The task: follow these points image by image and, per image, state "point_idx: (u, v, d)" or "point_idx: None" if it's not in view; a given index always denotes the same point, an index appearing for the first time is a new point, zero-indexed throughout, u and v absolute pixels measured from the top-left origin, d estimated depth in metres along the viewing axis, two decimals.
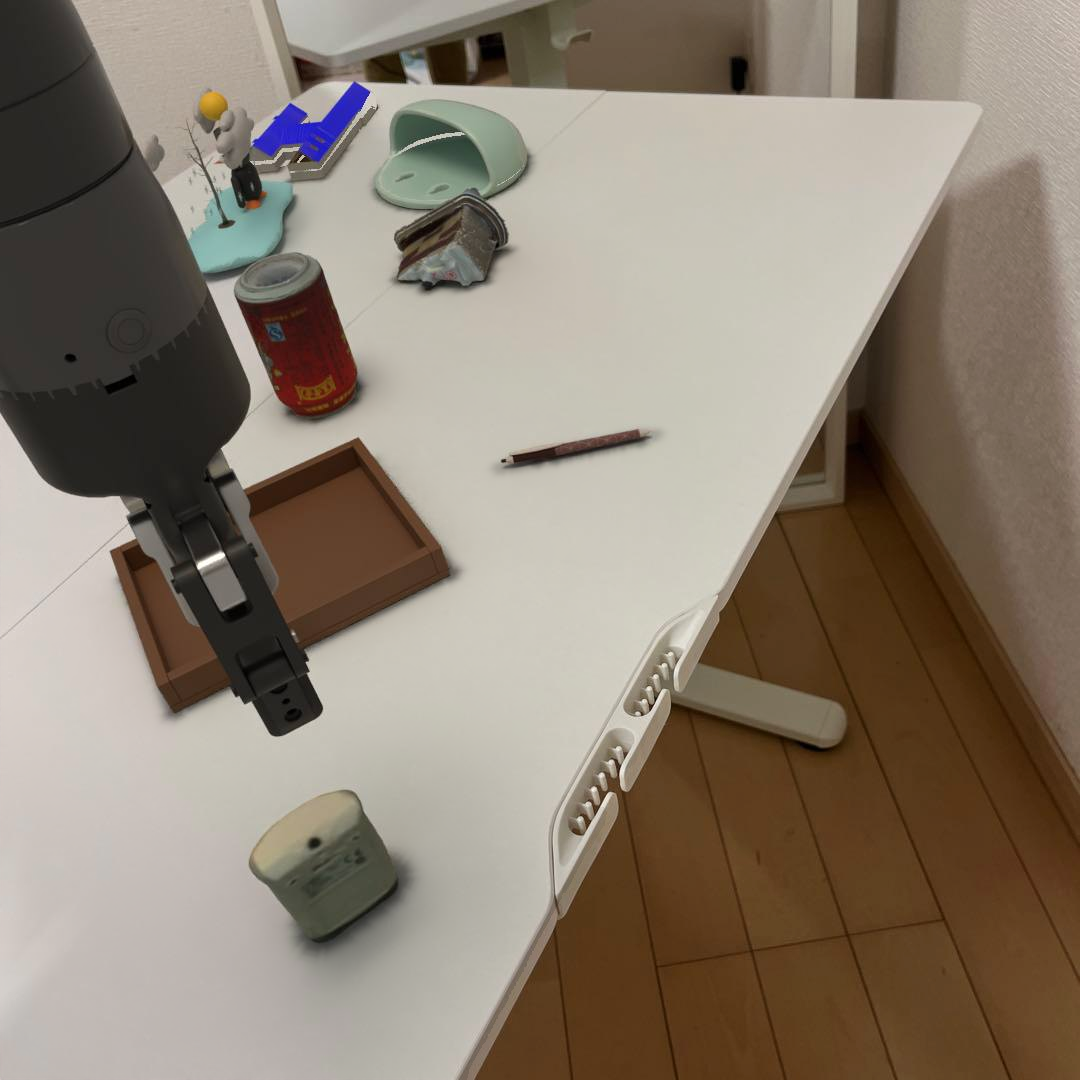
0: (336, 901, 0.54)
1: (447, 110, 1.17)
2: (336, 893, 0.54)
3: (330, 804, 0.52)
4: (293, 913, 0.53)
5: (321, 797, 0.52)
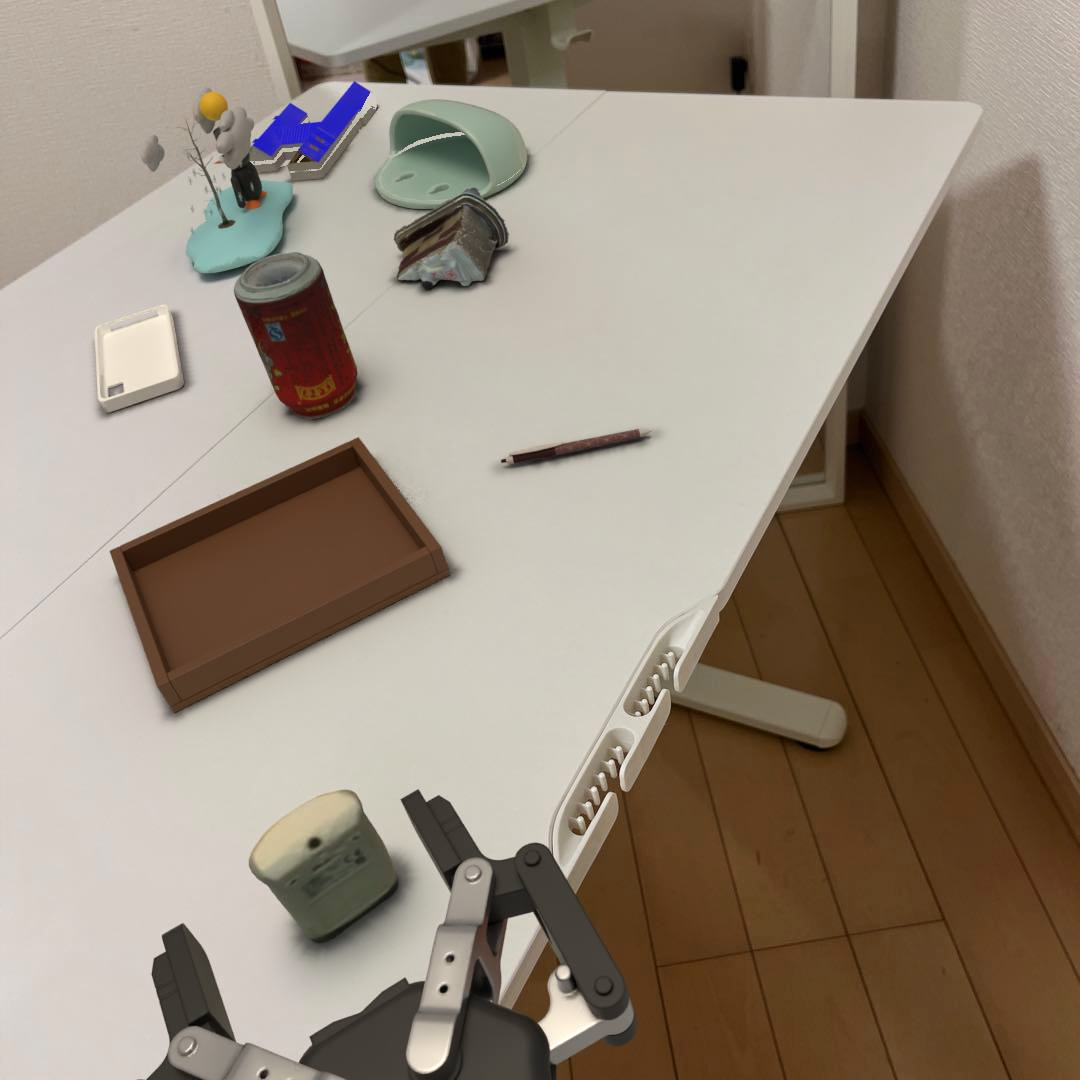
0: (336, 901, 0.54)
1: (447, 110, 1.17)
2: (336, 893, 0.54)
3: (330, 804, 0.52)
4: (293, 913, 0.53)
5: (321, 797, 0.52)
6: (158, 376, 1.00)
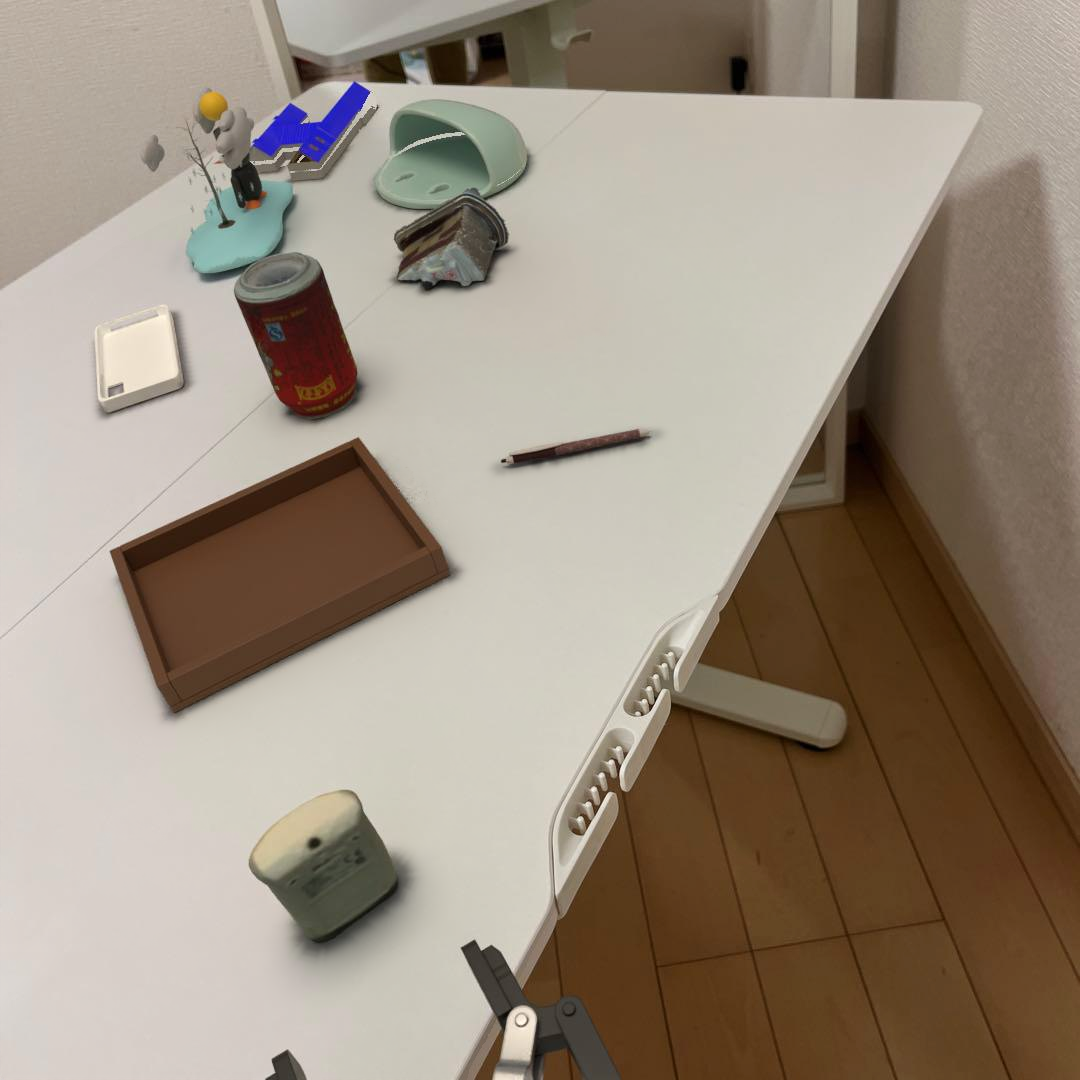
0: (336, 901, 0.54)
1: (447, 110, 1.17)
2: (336, 893, 0.54)
3: (330, 804, 0.52)
4: (293, 913, 0.53)
5: (321, 797, 0.52)
6: (158, 376, 1.00)
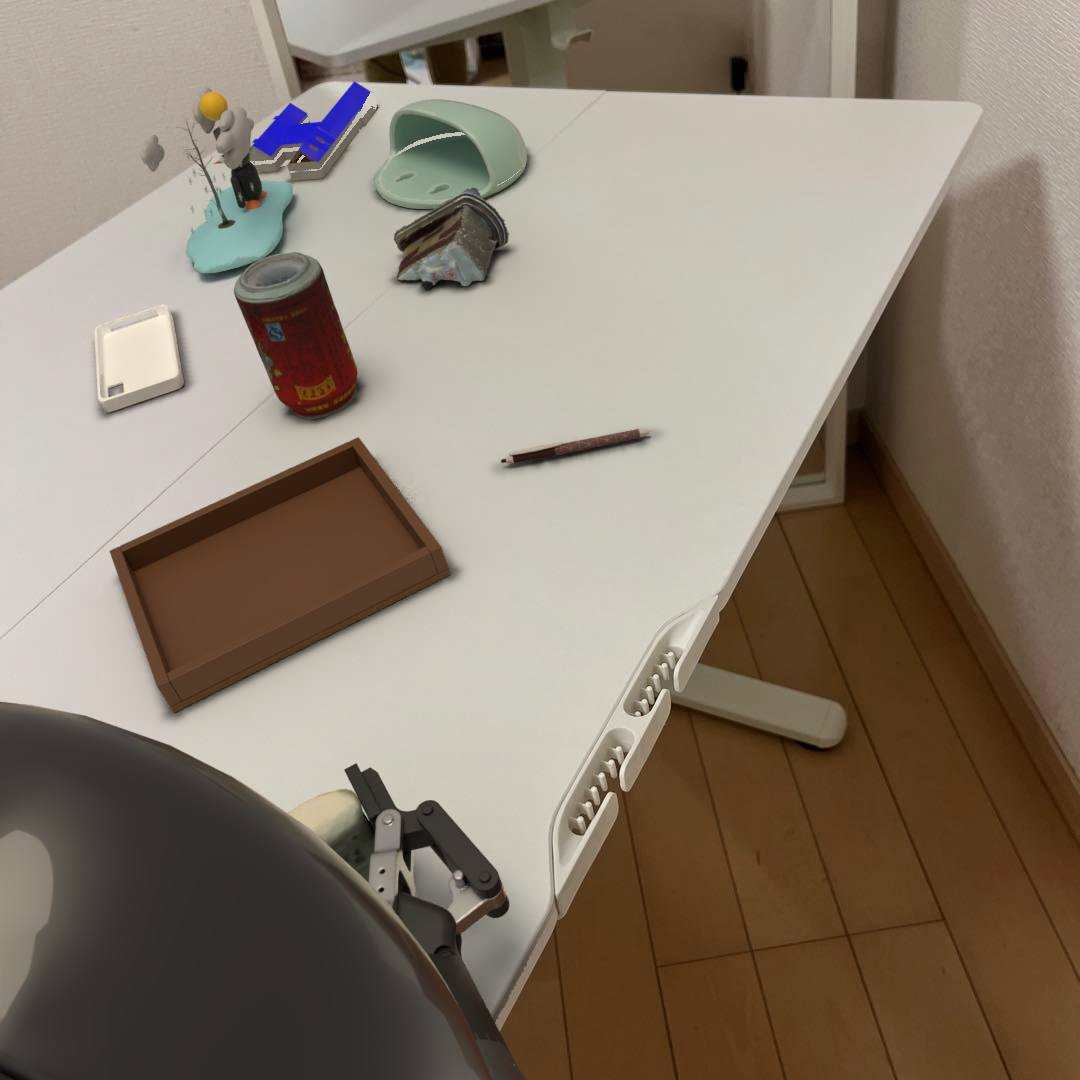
0: None
1: (447, 110, 1.17)
2: None
3: (329, 803, 0.52)
4: None
5: (320, 796, 0.52)
6: (158, 376, 1.00)
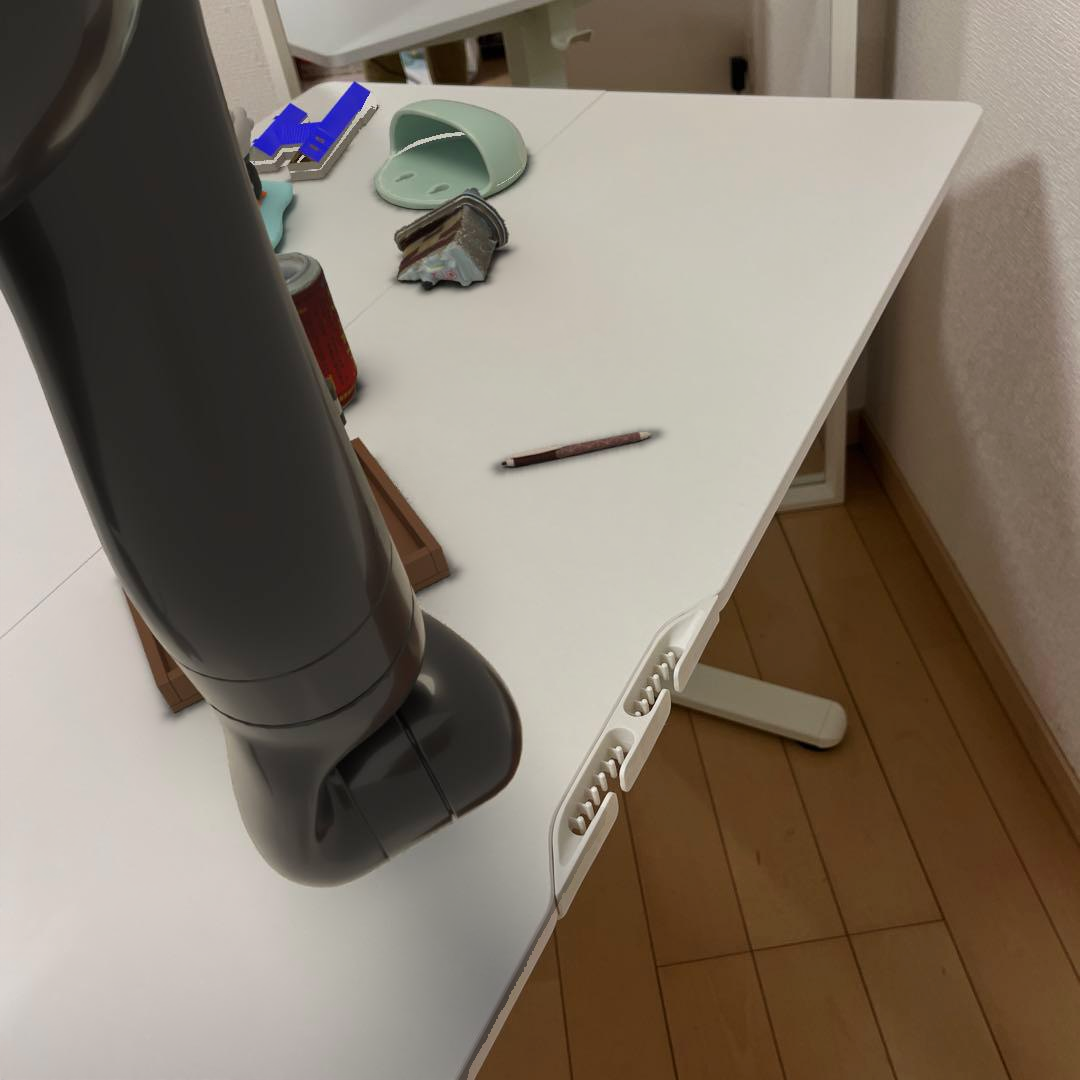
0: None
1: (447, 110, 1.17)
2: None
3: None
4: None
5: None
6: None
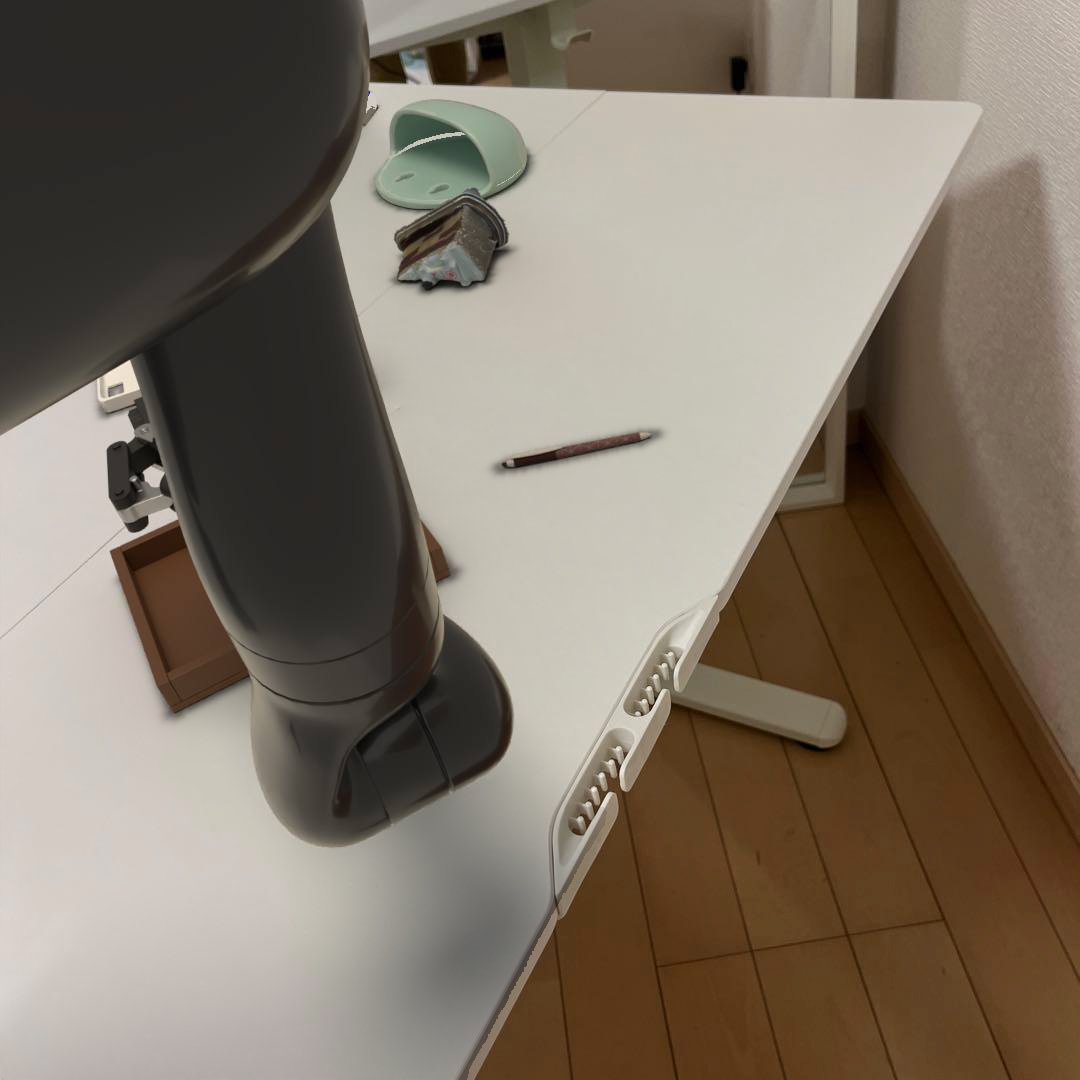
0: None
1: (447, 110, 1.17)
2: None
3: None
4: None
5: None
6: None
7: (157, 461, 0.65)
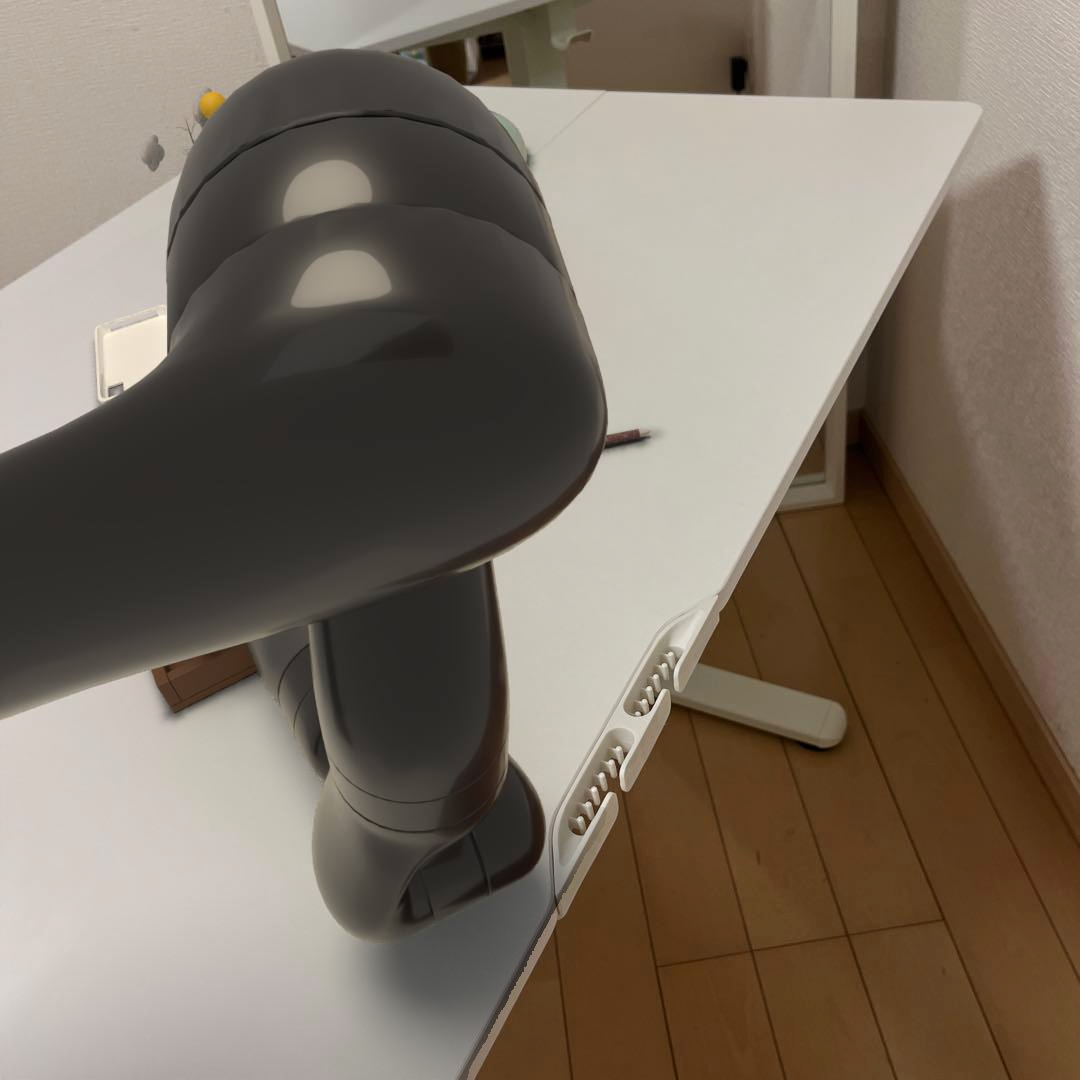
0: None
1: None
2: None
3: None
4: None
5: None
6: None
7: None
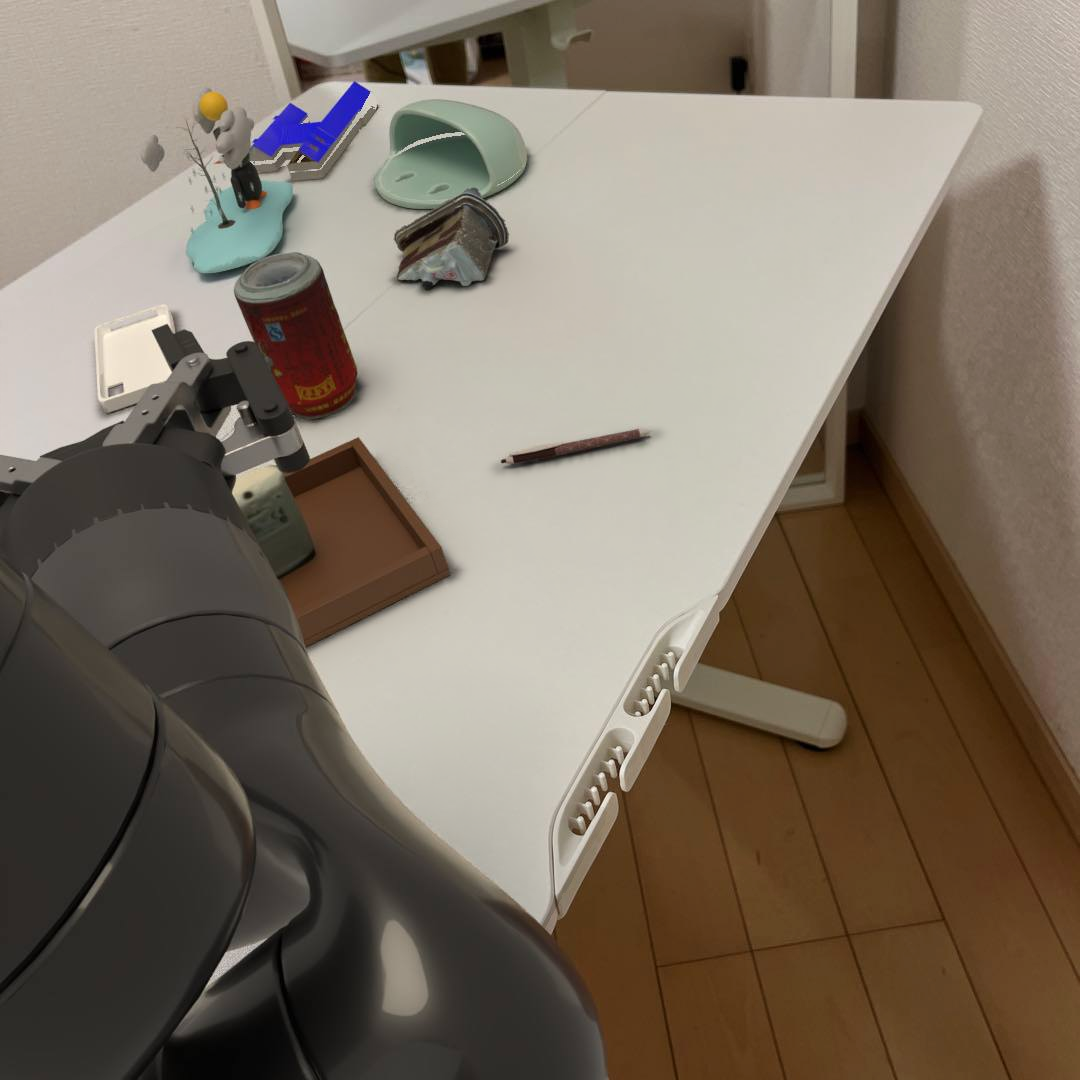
0: (267, 554, 0.74)
1: (447, 110, 1.17)
2: (266, 545, 0.74)
3: (260, 472, 0.72)
4: None
5: None
6: (158, 376, 1.00)
7: None
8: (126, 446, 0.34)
